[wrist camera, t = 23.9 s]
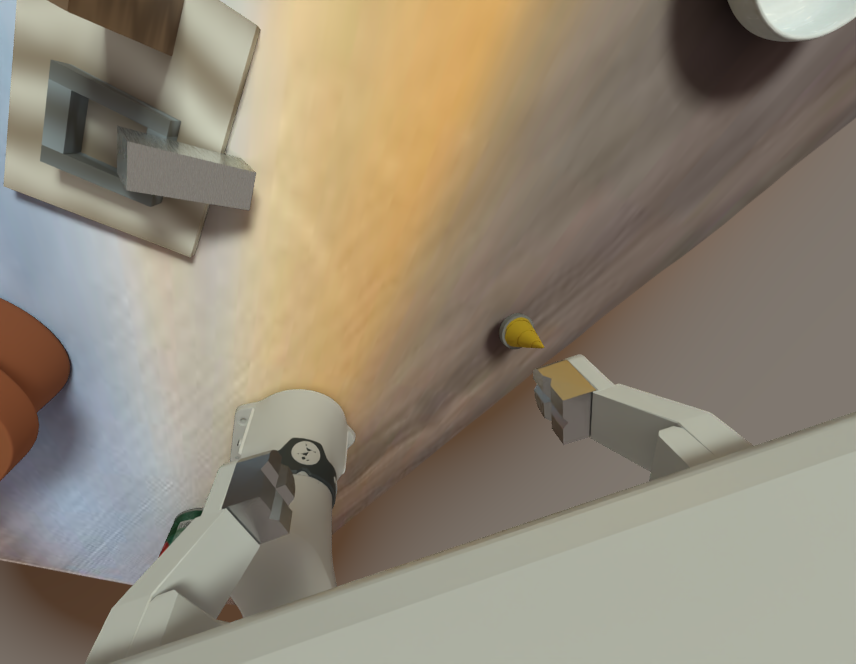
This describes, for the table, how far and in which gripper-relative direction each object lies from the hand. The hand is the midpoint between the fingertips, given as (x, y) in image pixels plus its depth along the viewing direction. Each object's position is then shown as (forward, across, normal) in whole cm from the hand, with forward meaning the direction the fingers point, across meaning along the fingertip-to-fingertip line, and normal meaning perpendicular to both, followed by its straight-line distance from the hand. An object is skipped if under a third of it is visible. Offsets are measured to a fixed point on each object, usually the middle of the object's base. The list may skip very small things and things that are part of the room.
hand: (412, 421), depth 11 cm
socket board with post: (+37, +18, -14) cm, 44 cm away
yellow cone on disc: (+37, -16, +23) cm, 47 cm away
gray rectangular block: (+30, +18, -10) cm, 36 cm away
